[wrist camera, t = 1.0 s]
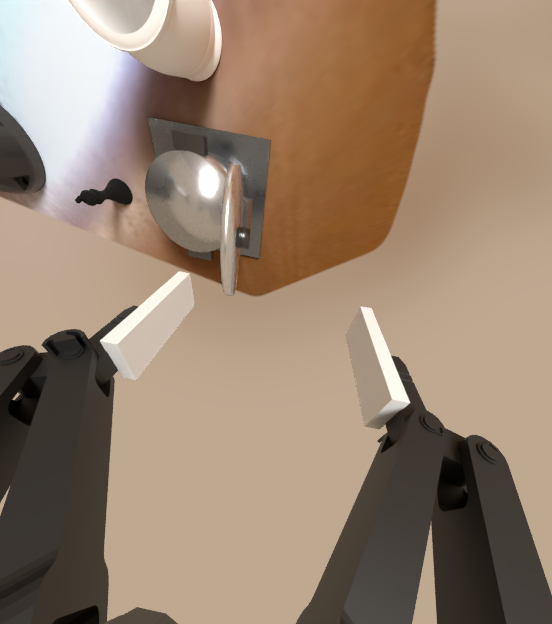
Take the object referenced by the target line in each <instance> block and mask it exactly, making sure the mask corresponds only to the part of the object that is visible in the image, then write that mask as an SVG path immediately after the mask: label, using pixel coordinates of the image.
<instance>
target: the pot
mask: <svg viewBox="0 0 552 624" xmlns="http://www.w3.org/2000/svg"><path fill="white" fill-rule="evenodd" d="M148 122H149V127H150V132H151V137H152V143H153V148H154V153H155V160H154V161H153V162H152V164H151V166H150V167H149V170H148V172H147V176H146V182H145V191H146V198H147V202H148V206H149V209H150V211H151V213H152V215H153V217H154V219H155V221H156V222H157V224H158V225H159V227H160V228H161V229H162V231H163V232H164V233H165V234H166V235H167V236H168V237H169V238H170V239H171V241H173V242H175V243H177V244H178V245H180V246H182V247H184V248H186V249H188V255H189V256H190V257H195V258H200V259H205V260H212V259H213V258H214V254H213V251H214V250H220V232H221V213H222V201H223V191H224V184H225V178H226V173H227V170H228V167H229V165H230V164H237V165H240V166H241V171H242V184H243V197H244V219H243V227H244V228H250V244H249V249H245V248H241V252H240V255H246V256H251V257H256V258H259V257H260V247H261V237H262V227H263V217H264V207H265V197H266V186H267V176H268V166H269V156H270V146H271V140H268V139H263V138H258V137H252V136H247V135H242V134H236V133H231V132H226V131H220V130H215V129H210V128H204V127H199V126H194V125H188V124H183V123H178V122H172V121H167V120H162V119H156V118H151V117H148Z"/></svg>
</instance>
